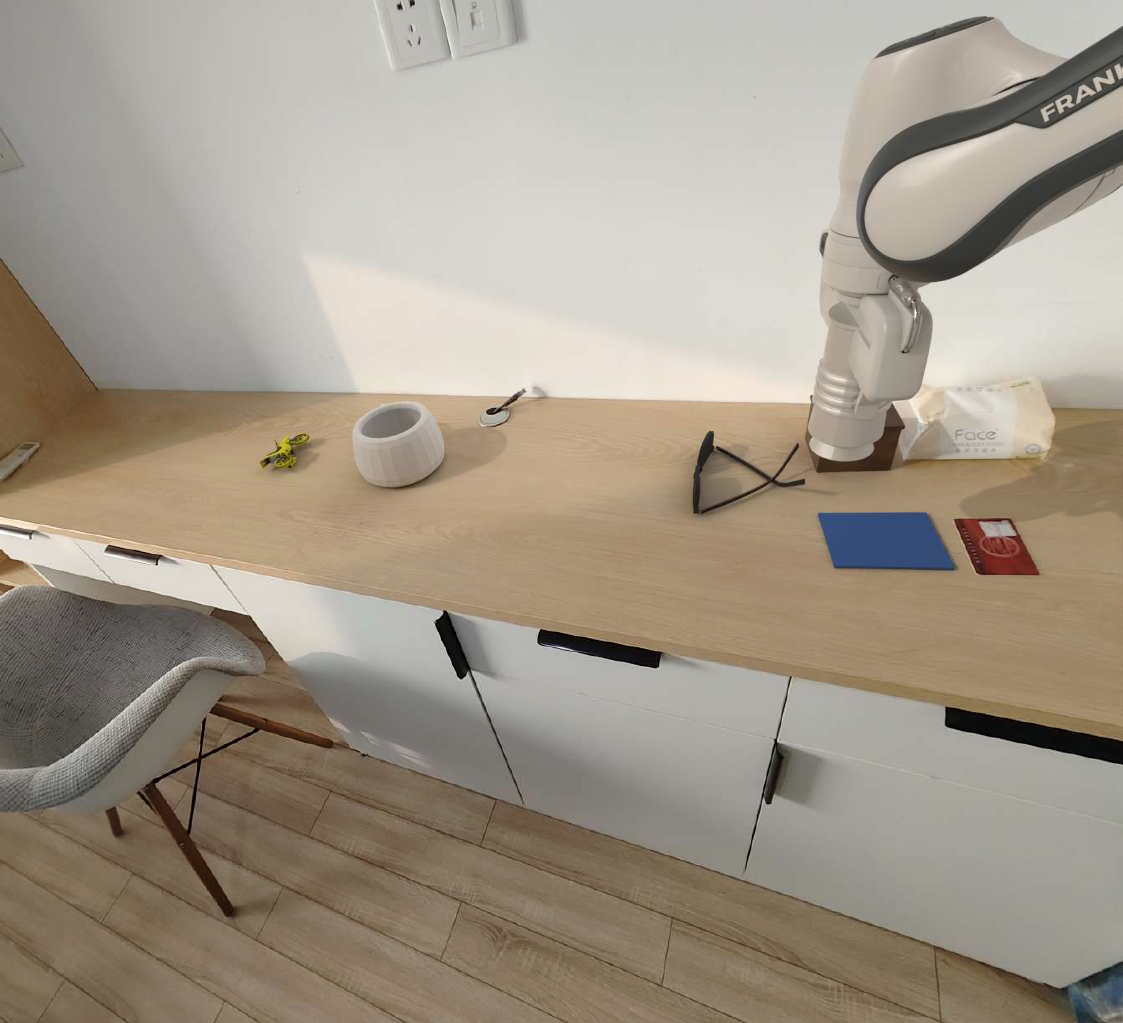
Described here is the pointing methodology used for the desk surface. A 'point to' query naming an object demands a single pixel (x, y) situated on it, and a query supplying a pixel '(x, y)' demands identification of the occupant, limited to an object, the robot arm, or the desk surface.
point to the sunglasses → (709, 447)
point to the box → (876, 460)
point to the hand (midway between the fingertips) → (851, 394)
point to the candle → (841, 398)
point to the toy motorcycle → (284, 452)
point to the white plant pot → (397, 444)
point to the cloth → (884, 541)
